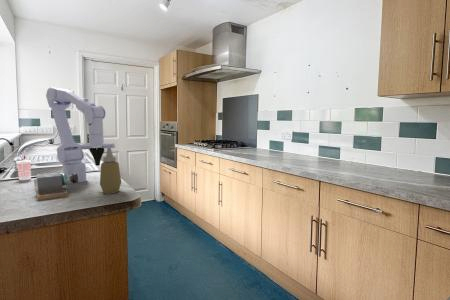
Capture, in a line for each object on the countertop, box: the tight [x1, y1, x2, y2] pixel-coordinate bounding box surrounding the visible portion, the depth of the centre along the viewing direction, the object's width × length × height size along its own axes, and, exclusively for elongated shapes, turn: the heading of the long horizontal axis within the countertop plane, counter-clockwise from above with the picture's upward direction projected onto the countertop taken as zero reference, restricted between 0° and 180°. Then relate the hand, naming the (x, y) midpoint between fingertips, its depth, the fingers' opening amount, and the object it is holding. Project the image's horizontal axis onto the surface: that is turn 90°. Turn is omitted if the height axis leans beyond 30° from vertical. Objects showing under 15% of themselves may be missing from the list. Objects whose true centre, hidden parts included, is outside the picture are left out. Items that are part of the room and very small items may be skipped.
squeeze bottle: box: [99, 148, 122, 194], centre depth 109 cm, size 8×8×18 cm
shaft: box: [33, 173, 79, 188], centre depth 110 cm, size 15×5×5 cm, turn 127°
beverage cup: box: [15, 150, 32, 181], centre depth 133 cm, size 6×6×14 cm
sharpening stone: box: [35, 172, 69, 202], centre depth 109 cm, size 10×22×7 cm, turn 37°
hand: (97, 165), depth 118 cm, fingers closed
